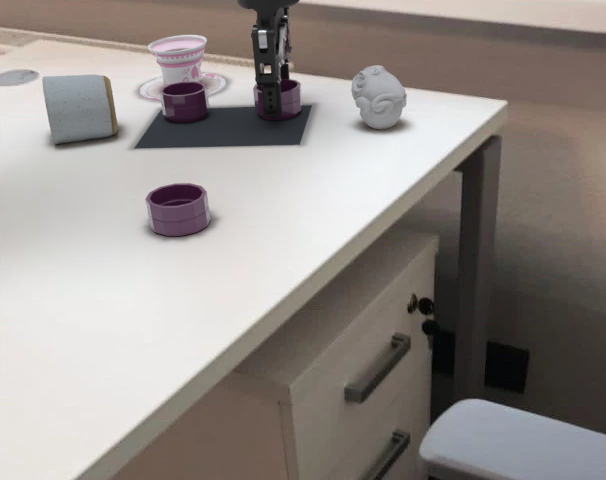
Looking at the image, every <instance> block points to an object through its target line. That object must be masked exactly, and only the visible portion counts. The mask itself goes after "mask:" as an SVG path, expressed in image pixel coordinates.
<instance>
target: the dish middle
mask: <svg viewBox="0 0 606 480" xmlns="http://www.w3.org/2000/svg"><path fill="white" fill-rule="evenodd" d="M144 201H145V204H146V205H145V206H146V209H147V215H148V221H149V226H150V228H151V230H153V233H156V234H159V235H162V236H166V237H182V236H186V235H190V234H195V233H198V232H199V231H201V230H203V229H205V228H207V227H208V225H209V224H210V221H211V212H210V206H209V204H210V203H209V198H208V191H207V190H206V189H205V187H203V186H202V185H198V184H196V183H195V184H194V183H190V182H184V183H183V182H182V183H181V182H180V183H178V182H177V183H176V182H175V183H171V184H166V185H162V186H159V187H157V188H155V189H153V190H151V191H149V192H148V194H147V196H146V197H145V200H144Z"/></svg>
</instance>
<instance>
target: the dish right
mask: <svg viewBox="0 0 606 480" xmlns="http://www.w3.org/2000/svg"><path fill="white" fill-rule="evenodd" d="M280 88H281V101H282V114H281V116H280V117H266V116H265V115H264V111H263V100H262V89H261V85H257V84H254V86H253V88H252V92H253V102H254V107H255V112H256V113H257V114H259V116H260V117H261V118H263V119H266V120H285V119H289V118H293V117H295V116H297V115H298V114H299V112H300V111H301V109H302V105H303V96H302V83H301V82H300V81H298V80H297V79H293V78H290V79H281V82H280Z"/></svg>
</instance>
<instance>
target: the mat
mask: <svg viewBox="0 0 606 480" xmlns="http://www.w3.org/2000/svg"><path fill="white" fill-rule="evenodd" d="M209 108H210V110H209V111H208V113H207V115H206V116H205V117H204V118H202V119H200V120H197V121H194V122H187V123H176V122H171V121H169V120H168V119H167V118H166V117H165V116H164V115H163V111H162V108H161V109H160V110H159V112H158V113H157V114H156V116H155V117H154V119H153V120H152V122H151V123H150V124H149V126H148V128H147V129H145V132H144V133H143V135H142V136H141V137H140V139H139V140H138V142H137V143H136V144H135V146H134V147H133V150H134V149H135V150H137V149H176V148H178V149H179V148H181V149H182V148H183V149H184V148H219V147H220V148H221V147H222V148H223V147H224V148H225V147H226V148H227V147H229V148H230V147H263V146H264V147H265V146H266V147H267V146H268V147H269V146H270V147H271V146H300V145H301V142H302V139H303V136H304V133H305V129H306V126H307V123H308V120H309V117H310V114H311V110H312V108H313V104H304V105H303V104H302V109H301V111H300V112H299V114H298V115H297V116H295V117H293V118H289V119H285V120H266V119H263V118H261V117H260V116H259V114H257V113H256V112H255V106H235V107H233V106H231V107H230V106H229V107H209Z"/></svg>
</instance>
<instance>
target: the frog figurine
mask: <svg viewBox="0 0 606 480" xmlns="http://www.w3.org/2000/svg"><path fill="white" fill-rule="evenodd" d="M350 87H351V88H350V91H351V96H352V98H353V101H355V106H356V107H357V109H359V116H360V117H361V118H362V120H363V122H364V123H365V124H366V125H367V126H368V127H370V128H371V129H375V130H387V129H390V128H392V127H393V126H395V125H397V123H398V121H399V120H400V118H401V116H402V114H403V109H404V108H406V106H407V98H408V94H407V93H406V88H405V87H404V86H403V85H402V83H401V82H400V81H399V79H398V78H397V77H396V76H395V75H393V74H391V72H389V71H387V70H386V68H385V67H384V66H383V65H379V64H376V65H375V64H374V65H371V66H366V67H364V69H363V70H360V71H359V72H357V74H356V75H355V76H353V78H352V81H351V86H350Z"/></svg>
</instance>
